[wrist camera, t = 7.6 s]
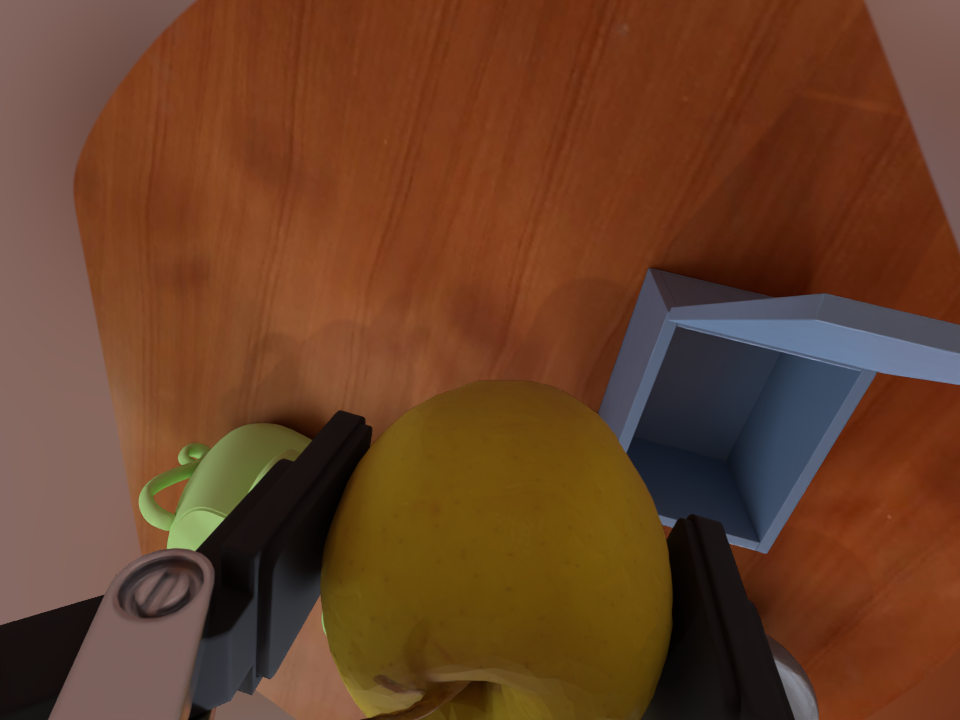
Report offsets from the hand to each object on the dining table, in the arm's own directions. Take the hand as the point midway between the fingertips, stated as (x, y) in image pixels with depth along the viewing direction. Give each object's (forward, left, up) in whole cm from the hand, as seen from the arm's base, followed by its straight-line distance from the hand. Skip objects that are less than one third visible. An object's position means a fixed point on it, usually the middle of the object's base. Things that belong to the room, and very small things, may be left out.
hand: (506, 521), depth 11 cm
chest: (+9, +13, -34) cm, 37 cm away
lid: (-1, +13, -14) cm, 20 cm away
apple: (0, 0, -3) cm, 3 cm away
